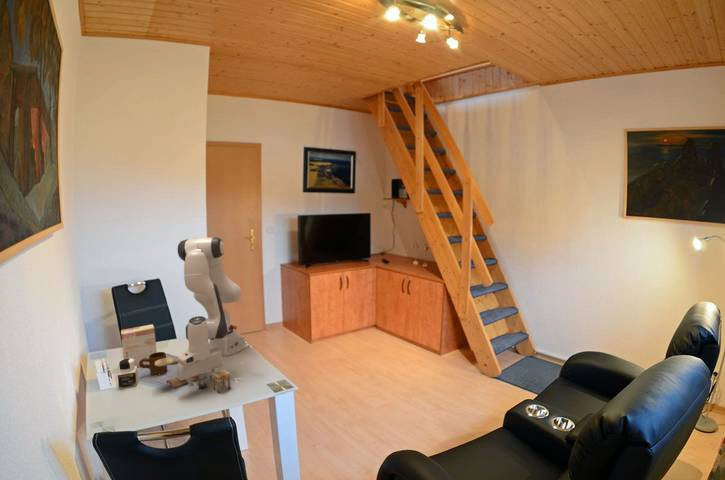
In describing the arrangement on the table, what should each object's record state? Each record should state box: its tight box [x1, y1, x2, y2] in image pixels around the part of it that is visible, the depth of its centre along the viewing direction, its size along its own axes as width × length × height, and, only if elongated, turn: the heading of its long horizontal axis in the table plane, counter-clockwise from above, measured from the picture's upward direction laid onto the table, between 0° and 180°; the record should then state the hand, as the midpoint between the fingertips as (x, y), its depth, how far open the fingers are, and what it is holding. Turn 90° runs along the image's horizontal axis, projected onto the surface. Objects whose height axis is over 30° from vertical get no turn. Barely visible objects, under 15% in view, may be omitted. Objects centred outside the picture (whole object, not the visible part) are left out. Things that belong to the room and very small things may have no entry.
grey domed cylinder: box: [197, 376, 208, 391], centre depth 182 cm, size 4×4×4 cm
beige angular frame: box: [233, 362, 244, 383], centre depth 195 cm, size 25×17×1 cm
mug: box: [139, 351, 168, 376], centre depth 197 cm, size 12×8×9 cm, turn 126°
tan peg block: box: [211, 369, 231, 394], centre depth 181 cm, size 6×6×8 cm
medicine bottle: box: [117, 358, 139, 390], centre depth 186 cm, size 7×7×12 cm
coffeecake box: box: [120, 324, 157, 369], centre depth 207 cm, size 15×7×20 cm, turn 123°
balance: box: [155, 357, 200, 390], centre depth 188 cm, size 23×9×13 cm, turn 138°
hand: (201, 382), depth 182 cm, fingers open, 8 cm apart
